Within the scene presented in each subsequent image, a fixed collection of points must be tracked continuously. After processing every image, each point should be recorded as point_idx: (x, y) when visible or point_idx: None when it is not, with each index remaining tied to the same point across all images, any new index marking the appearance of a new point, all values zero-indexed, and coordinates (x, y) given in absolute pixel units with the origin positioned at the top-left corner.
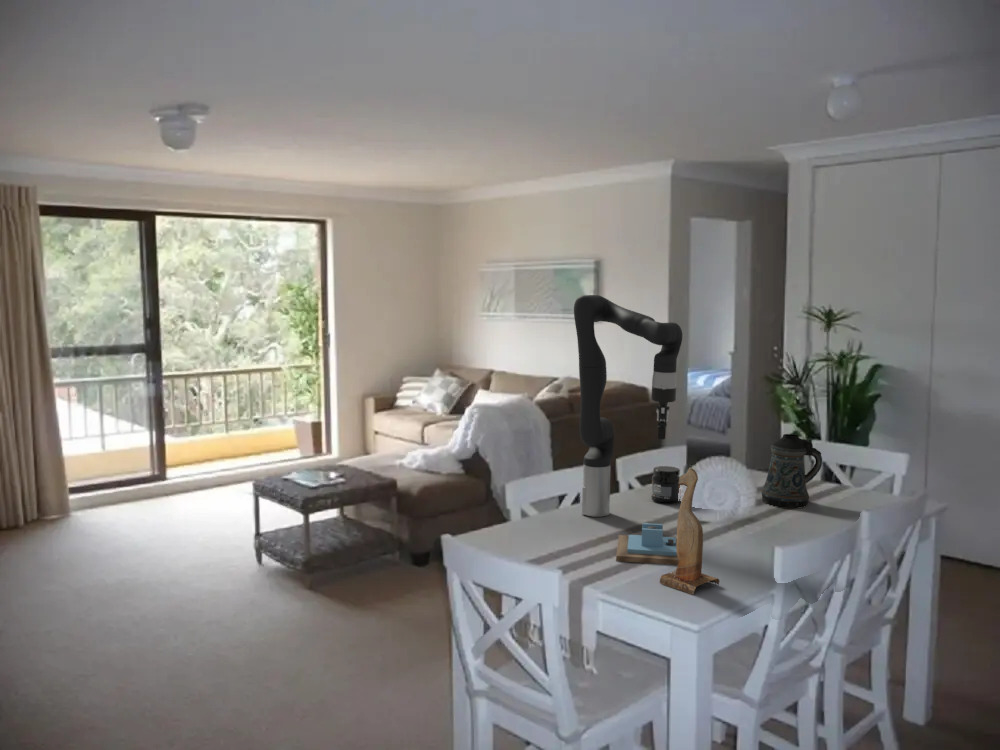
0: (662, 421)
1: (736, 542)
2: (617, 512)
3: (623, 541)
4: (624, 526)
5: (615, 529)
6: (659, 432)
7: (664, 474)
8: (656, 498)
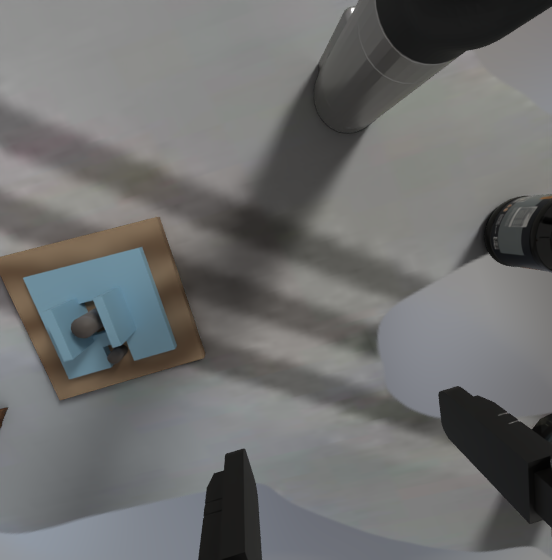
0: (549, 506)
1: (262, 433)
2: (377, 148)
3: (111, 242)
4: (269, 198)
5: (235, 185)
6: (224, 510)
7: None
8: (496, 215)
